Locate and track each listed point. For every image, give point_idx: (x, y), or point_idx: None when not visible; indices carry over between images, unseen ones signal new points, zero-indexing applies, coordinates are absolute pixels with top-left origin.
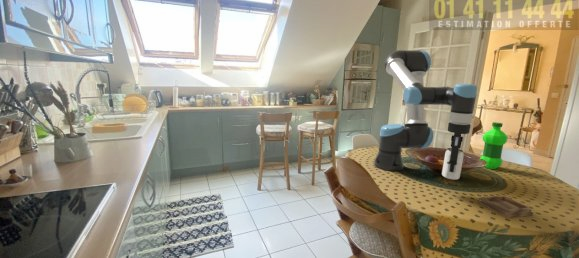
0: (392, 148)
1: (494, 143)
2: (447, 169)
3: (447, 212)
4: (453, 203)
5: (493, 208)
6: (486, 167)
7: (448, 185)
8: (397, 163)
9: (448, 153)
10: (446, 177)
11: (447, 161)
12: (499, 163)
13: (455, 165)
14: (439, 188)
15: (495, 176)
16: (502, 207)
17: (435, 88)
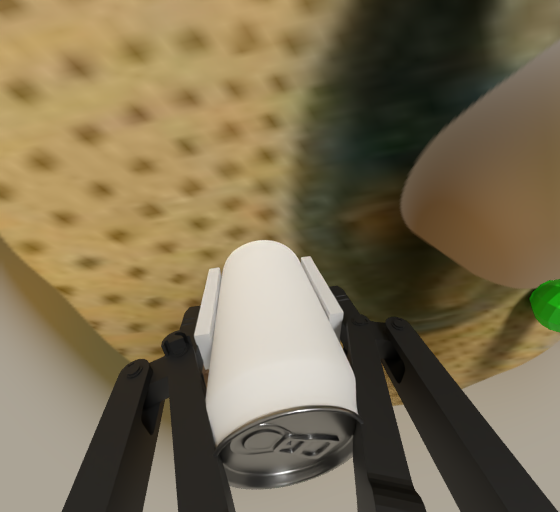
0: None
1: None
2: (219, 293)
3: (67, 270)
4: (168, 269)
5: None
6: (539, 287)
7: (329, 227)
8: None
9: (218, 398)
10: (209, 270)
11: (218, 328)
12: (545, 324)
13: (205, 360)
14: (276, 206)
15: (468, 312)
16: (203, 373)
17: None
